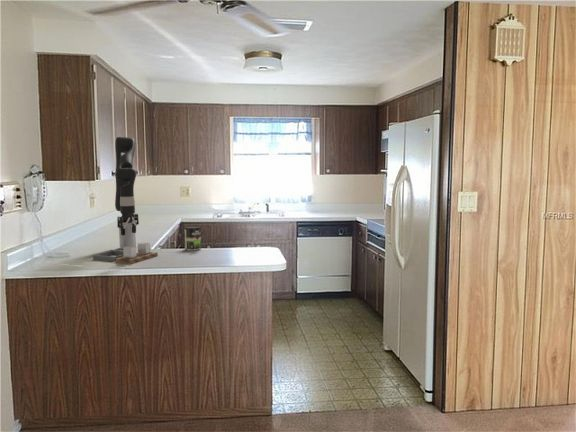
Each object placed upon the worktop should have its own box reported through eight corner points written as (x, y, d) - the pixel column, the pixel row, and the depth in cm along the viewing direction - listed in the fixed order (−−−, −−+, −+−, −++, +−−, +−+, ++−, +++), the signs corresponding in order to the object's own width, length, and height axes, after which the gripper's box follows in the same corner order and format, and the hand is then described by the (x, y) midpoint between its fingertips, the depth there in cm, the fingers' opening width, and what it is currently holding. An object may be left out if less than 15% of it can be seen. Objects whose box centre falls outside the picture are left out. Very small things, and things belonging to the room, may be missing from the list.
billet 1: (128, 259, 264) (128, 245, 263) (136, 260, 261) (136, 246, 261) (123, 261, 260) (123, 246, 259) (131, 262, 258) (131, 247, 257)
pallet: (142, 256, 278) (142, 251, 278) (157, 257, 274) (157, 252, 274) (116, 264, 258) (115, 258, 258) (132, 265, 254) (131, 260, 254)
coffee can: (204, 248, 300) (204, 226, 299) (191, 251, 293) (190, 228, 291) (195, 246, 307) (194, 225, 306) (181, 249, 300) (180, 227, 298)
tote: (113, 255, 280) (112, 250, 280) (134, 257, 274) (133, 251, 274) (93, 261, 266) (92, 255, 265) (115, 263, 260) (114, 257, 259)
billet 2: (142, 255, 274) (142, 242, 273) (150, 256, 272) (149, 242, 271) (138, 257, 271) (137, 243, 270) (146, 257, 269) (145, 243, 268)
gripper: (123, 206, 249) (125, 236, 251) (141, 203, 262) (142, 232, 264) (112, 205, 251) (114, 235, 254) (130, 203, 265) (132, 231, 267)
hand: (128, 234), depth 259 cm, fingers open, 8 cm apart
